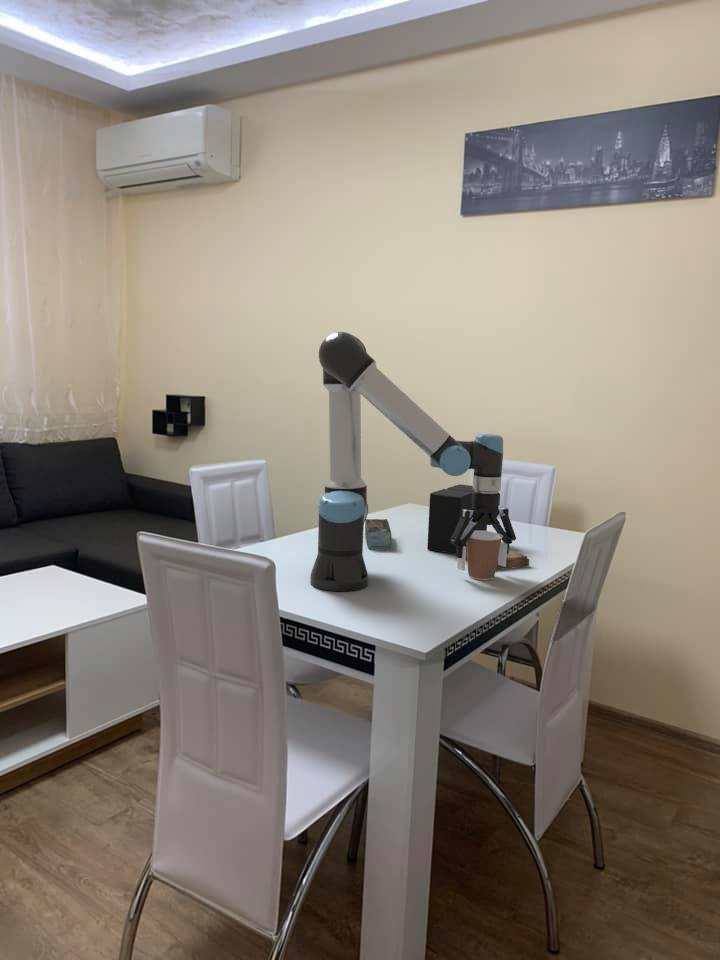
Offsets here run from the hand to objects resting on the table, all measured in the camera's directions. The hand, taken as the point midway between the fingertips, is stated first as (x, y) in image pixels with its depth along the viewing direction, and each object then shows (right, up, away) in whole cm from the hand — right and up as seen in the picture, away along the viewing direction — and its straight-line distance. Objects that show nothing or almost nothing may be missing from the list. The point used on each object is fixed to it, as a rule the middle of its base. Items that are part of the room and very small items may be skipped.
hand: (481, 567), depth 192 cm
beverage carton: (-28, +3, +37) cm, 46 cm away
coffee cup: (0, -3, 0) cm, 3 cm away
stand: (+7, -1, +16) cm, 17 cm away
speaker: (-2, +2, +37) cm, 37 cm away
